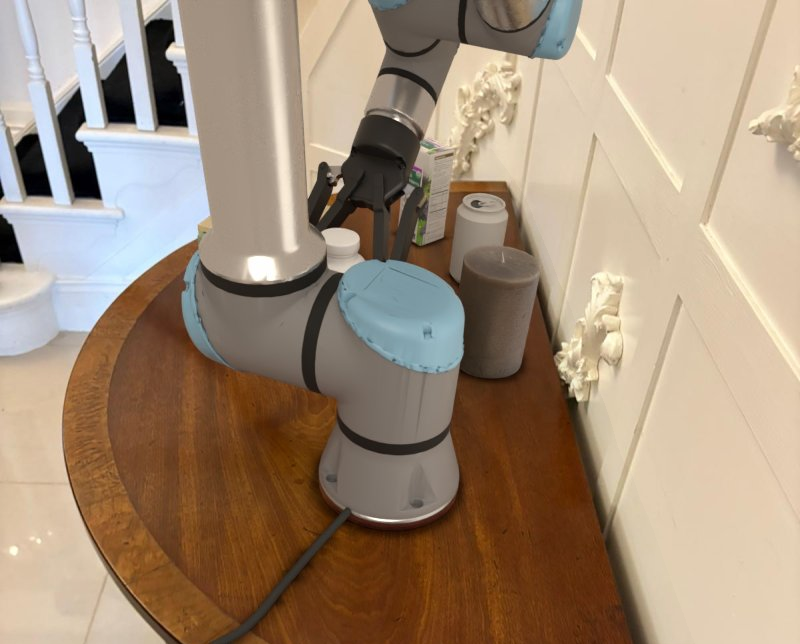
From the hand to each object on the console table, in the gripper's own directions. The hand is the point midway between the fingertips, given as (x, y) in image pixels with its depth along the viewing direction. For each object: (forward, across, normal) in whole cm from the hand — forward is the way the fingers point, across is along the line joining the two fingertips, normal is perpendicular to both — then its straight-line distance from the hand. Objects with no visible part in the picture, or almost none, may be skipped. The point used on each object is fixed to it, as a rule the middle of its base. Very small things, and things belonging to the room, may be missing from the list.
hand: (323, 316), depth 93 cm
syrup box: (-25, +7, -38) cm, 46 cm away
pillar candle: (-5, -16, -18) cm, 24 cm away
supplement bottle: (+1, 0, -6) cm, 6 cm away
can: (-19, -6, -32) cm, 38 cm away
